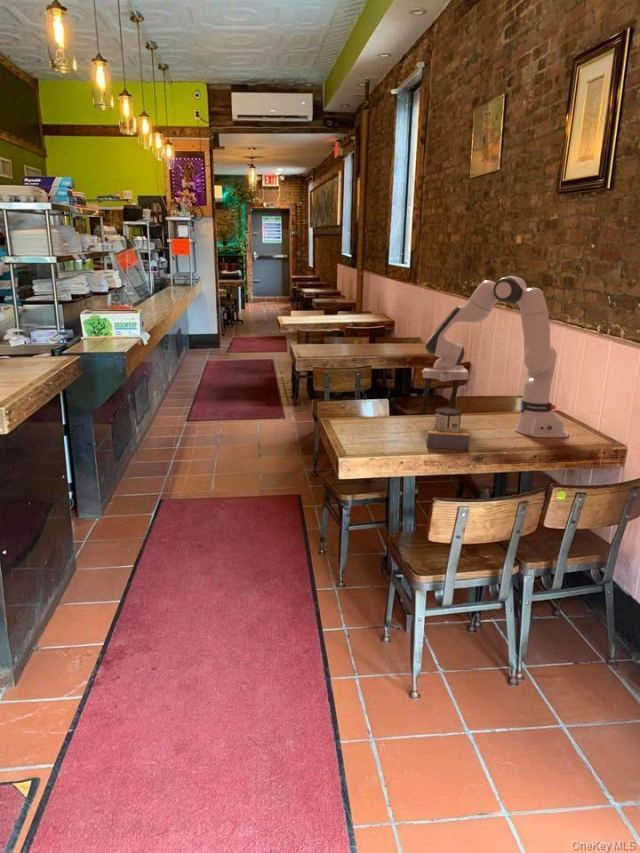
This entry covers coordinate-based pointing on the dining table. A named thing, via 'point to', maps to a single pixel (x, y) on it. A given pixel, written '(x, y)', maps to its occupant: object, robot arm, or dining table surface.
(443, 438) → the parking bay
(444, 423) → the coffee can
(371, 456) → the dining table surface
